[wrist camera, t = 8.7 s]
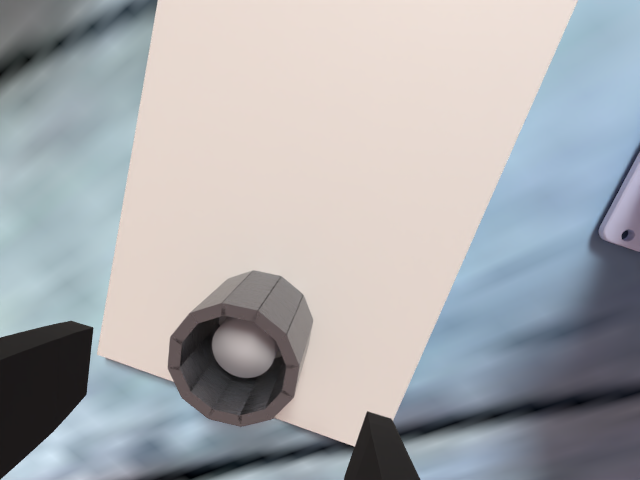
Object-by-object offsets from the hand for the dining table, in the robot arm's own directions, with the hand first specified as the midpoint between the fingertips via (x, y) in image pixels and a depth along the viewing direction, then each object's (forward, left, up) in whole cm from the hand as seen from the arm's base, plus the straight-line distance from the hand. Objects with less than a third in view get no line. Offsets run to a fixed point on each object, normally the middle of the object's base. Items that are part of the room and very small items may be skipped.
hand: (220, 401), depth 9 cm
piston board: (+1, -5, -9) cm, 10 cm away
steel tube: (+1, +2, -9) cm, 9 cm away
